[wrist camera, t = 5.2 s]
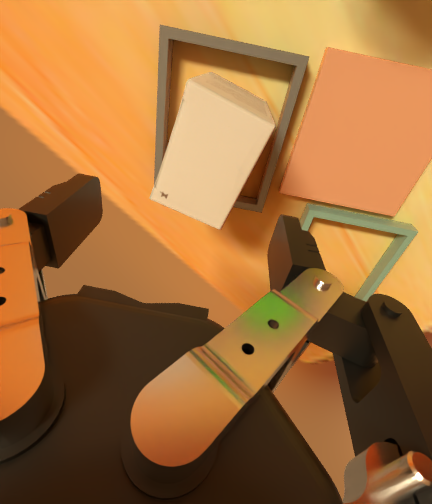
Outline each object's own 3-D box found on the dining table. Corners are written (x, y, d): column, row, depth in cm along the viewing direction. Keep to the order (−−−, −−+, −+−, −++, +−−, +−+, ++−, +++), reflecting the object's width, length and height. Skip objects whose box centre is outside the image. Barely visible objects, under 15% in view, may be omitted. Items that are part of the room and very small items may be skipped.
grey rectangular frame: (306, 56, 22) (309, 56, 20) (261, 206, 30) (261, 212, 28) (164, 26, 21) (159, 24, 20) (157, 185, 29) (153, 190, 28)
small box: (229, 180, 28) (219, 233, 20) (178, 156, 27) (146, 201, 19) (269, 100, 24) (279, 126, 15) (210, 68, 23) (187, 77, 14)
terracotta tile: (474, 79, 21) (481, 80, 21) (390, 212, 28) (394, 216, 28) (326, 47, 21) (328, 47, 21) (279, 189, 28) (279, 193, 28)
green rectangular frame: (411, 224, 29) (418, 231, 28) (352, 307, 37) (356, 316, 36) (307, 203, 29) (309, 209, 28) (270, 291, 37) (271, 299, 36)
